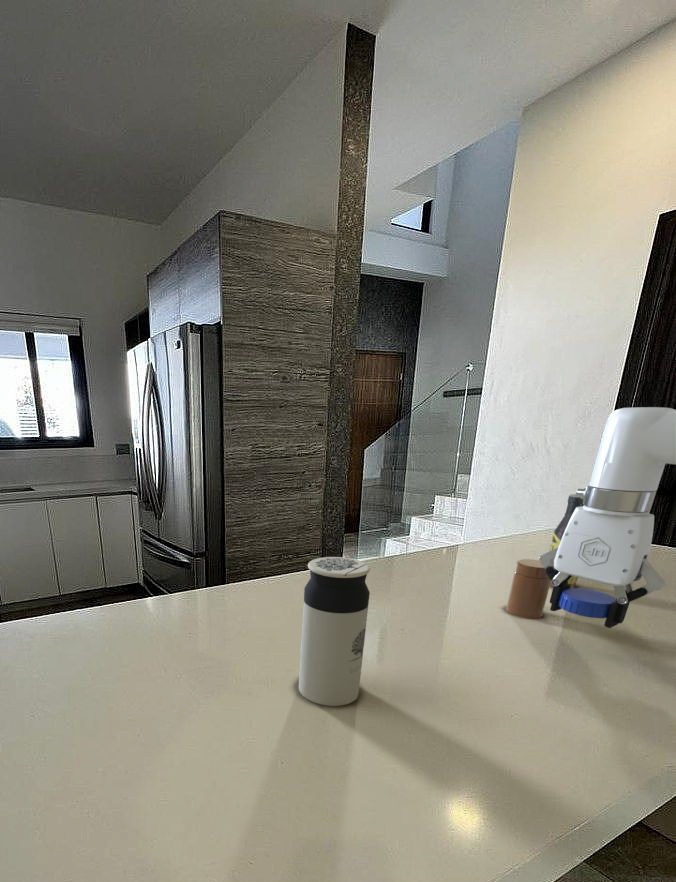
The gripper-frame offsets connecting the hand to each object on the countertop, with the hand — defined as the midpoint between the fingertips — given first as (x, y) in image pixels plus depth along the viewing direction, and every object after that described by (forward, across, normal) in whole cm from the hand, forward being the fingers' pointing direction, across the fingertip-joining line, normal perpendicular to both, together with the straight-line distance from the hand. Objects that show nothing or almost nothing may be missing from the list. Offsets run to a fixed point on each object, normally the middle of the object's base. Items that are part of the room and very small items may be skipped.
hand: (583, 616), depth 74 cm
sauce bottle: (+6, -17, +32) cm, 36 cm away
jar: (+6, -12, +9) cm, 17 cm away
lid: (-3, 0, 0) cm, 3 cm away
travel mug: (+7, -12, -41) cm, 44 cm away
